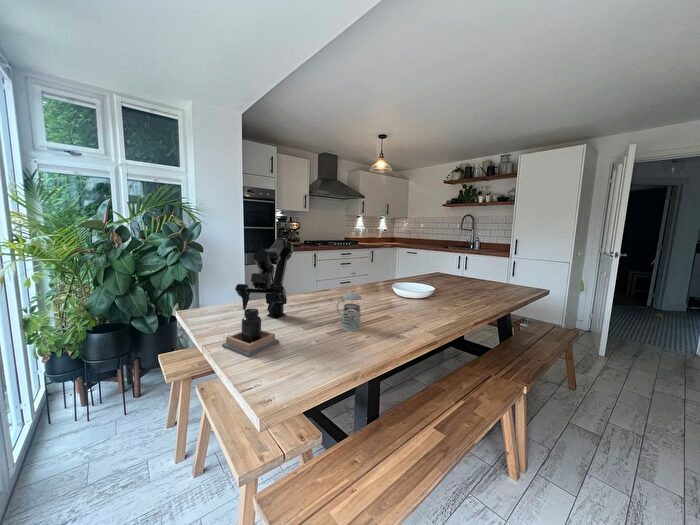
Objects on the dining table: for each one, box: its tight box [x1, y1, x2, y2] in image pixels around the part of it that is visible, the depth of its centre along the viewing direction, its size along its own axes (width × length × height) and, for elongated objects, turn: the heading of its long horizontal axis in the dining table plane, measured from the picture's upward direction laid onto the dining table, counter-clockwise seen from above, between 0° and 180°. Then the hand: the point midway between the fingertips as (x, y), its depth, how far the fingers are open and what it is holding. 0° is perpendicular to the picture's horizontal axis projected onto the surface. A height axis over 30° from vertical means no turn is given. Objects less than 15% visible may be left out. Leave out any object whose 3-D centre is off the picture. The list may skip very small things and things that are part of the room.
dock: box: [221, 329, 280, 358], centre depth 104 cm, size 14×14×4 cm
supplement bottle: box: [241, 308, 262, 344], centre depth 104 cm, size 7×7×12 cm
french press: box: [336, 271, 363, 332], centre depth 124 cm, size 10×12×25 cm
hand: (255, 310), depth 108 cm, fingers open, 9 cm apart
